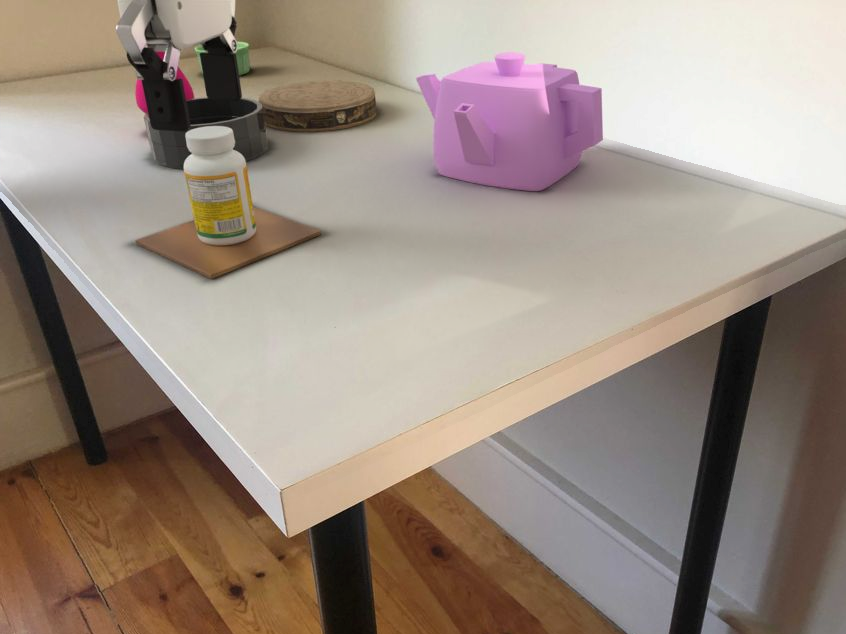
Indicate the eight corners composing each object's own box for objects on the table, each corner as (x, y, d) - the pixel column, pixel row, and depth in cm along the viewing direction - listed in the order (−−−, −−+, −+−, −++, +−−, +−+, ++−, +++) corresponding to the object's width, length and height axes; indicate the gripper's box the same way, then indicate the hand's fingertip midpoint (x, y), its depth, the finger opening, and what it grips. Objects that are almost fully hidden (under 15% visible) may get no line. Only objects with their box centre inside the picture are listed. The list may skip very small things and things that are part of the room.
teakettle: (609, 184, 84) (618, 63, 78) (454, 203, 80) (450, 77, 74) (552, 140, 98) (556, 34, 92) (418, 154, 94) (412, 45, 88)
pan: (195, 177, 89) (185, 132, 87) (132, 155, 97) (121, 113, 94) (290, 148, 98) (285, 107, 95) (225, 129, 106) (219, 91, 103)
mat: (211, 279, 66) (210, 275, 66) (136, 244, 73) (135, 240, 73) (321, 234, 74) (320, 230, 74) (244, 206, 81) (243, 202, 81)
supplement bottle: (232, 250, 70) (212, 143, 65) (185, 241, 72) (162, 137, 67) (269, 228, 74) (253, 126, 70) (223, 221, 76) (204, 121, 71)
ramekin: (239, 65, 142) (234, 39, 139) (262, 73, 136) (258, 45, 133) (191, 73, 137) (185, 46, 135) (213, 81, 131) (208, 53, 129)
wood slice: (243, 114, 112) (239, 92, 111) (342, 96, 120) (339, 75, 119) (293, 139, 101) (290, 115, 100) (398, 117, 109) (397, 94, 108)
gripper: (170, -121, 67) (205, 88, 76) (40, -117, 52) (102, 140, 61) (254, -120, 65) (279, 91, 74) (145, -116, 51) (192, 146, 60)
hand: (199, 113), depth 68 cm, fingers open, 9 cm apart
